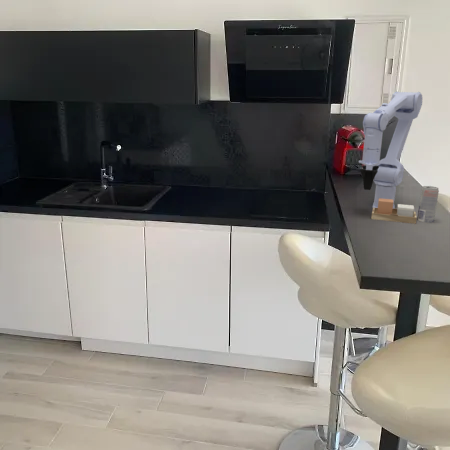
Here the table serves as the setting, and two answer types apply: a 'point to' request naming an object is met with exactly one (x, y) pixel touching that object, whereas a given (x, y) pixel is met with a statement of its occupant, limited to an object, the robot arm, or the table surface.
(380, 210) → the brown cardboard box
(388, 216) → the light wooden tray
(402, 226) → the table surface
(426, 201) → the energy drink
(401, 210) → the white foam cube
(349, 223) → the table surface
